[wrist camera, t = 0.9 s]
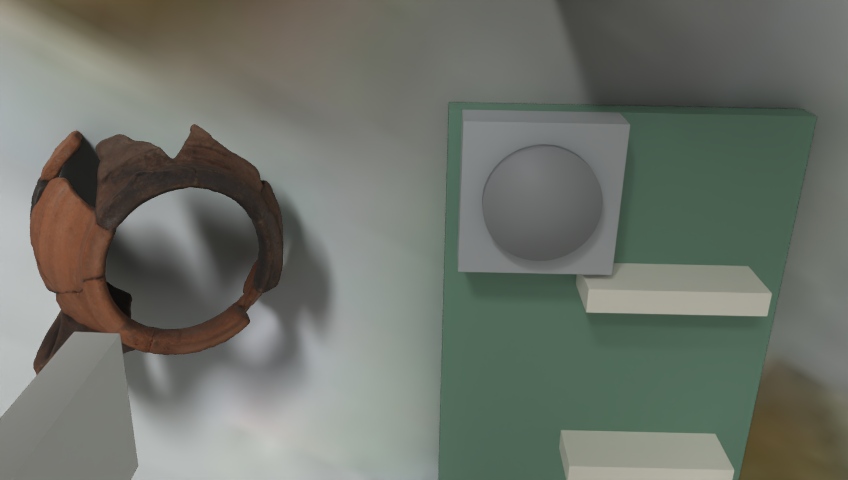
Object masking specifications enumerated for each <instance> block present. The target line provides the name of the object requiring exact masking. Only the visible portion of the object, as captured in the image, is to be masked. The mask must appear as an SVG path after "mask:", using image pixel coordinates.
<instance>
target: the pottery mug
mask: <svg viewBox="0 0 848 480" xmlns="http://www.w3.org/2000/svg"><path fill="white" fill-rule="evenodd" d="M190 131H191V133H190V135H189V137H188V139H187V140H186V141H185V143H184V145H183V147H182V149H181V150H180V152H179V153H178V155H177V156H176V157H175V158H174V159H172V158H170V157H168V155H167V154H166V153H165V152H164V151H163V150H162V149H161V148H160V147H157V146H155V145H153V144H151V143H149V142H144V141H134V140H132V139H130V138H129V137H127V136H125V135H121V134H119V135H115V136H113V137H110V138H108V139H105V140H102V141H101V142H99V143H98V144H97V145H96V151H97V154H98V158H99V160H100V161H101V162H100V164H99V167H98V172H97V181H98V188H97V195H96V203H95V208H94V207H92V206H90V205H89V204H87V203H86V202H85V201H84V200H83V199H81V198H80V196H79V195H78V194H77V193H76V191H75V189H74V187H73V186H72V184H71V183H70V182H69V181H68V180H67V179H66V178H64V177H62V178H61V177H59V175H60V172H61V170H62V167H63V165H64V164H65V163H66V162H67V161H68V159H69V158H70V157H71V156H72V155H73V154H74V153H75V152H76V151H77V150H78V149H79V147H80V145H81V140H82V134H81V133H80V132H78V131H74V132H72V133H71V134H69V136H68V137H67V138H66V139H65V140H64V141H63V142H62V143H60V144H59V146H58V147H57V148H56V149H55V151H54V152H53V154H52V156H51V157H50V159H49V160H48V162H47V163H46V164H45V166H44V168H43V170H42V174H41V177H40V178H39V180H38V182H37V185H36V187H35V190H34V193H33V196H32V202H31V204H32V206H31V213H30V238H31V245H32V246H33V250H34V255H35V258H36V262H37V266H38V270H39V273H40V275H41V277H42V279H43V281H44V284H45V286H46V288H47V289H48V290H49V291H52V292H54V293H56V301H57V302H58V304H59V306H60V308H61V311H60V313H59V314H58V316H57V318H56V320H55V321H54V323H53V324H52V326H51V327H50V329H49V330H48V332H47V334H46V336H45V338H44V340H43V342H42V344H41V346H40V348H39V350H38V352H37V355H36V358H35V360H34V370H35V372H36V374H37V375H38V374H39V372H40V371H41V370H42V369H43V368H44V366H45V365H46V364H47V363H48V362H49V361H50V359H51V358H52V357H53V356H54V355H55V354H56V352H57V351H58V350H59V349H60V348H61V347H62V345H63V344H64V343H65V342H66V341H67V339H68V338H69V337H70V336H71V335H72V334H73V332H95V333H119V334H120V337H121V344H122V351H123V354H124V353H126V352H129V351H132V350H135V349H137V350H139V351H142V352H149V353H153V354H163V355H169V354H174V355H176V354H188V353H194V352H200V351H202V350H205V349H208V348H211V347H214V346H216V345H218V344H220V343H223V342H225V341H227V340H229V339H230V338H232V337H233V336H235V335H236V334H237V333H239V332H240V331H241V330H243V329H244V328H245V327H246V326H247V325H248V324H249V323H250V319H249V317H248V315H247V313H246V311H247V310H248V309H249V307H250V306H251V305H253V304H254V303H255V302H256V300H257V299H258V298H259V297H260V296H261V295H262V293H264V292H267V291H268V290H270V289H272V288H274V287H276V285H277V284H278V282H279V280H280V275H281V271H282V265H283V225H282V217H281V212H280V208H279V205H278V202H277V200H276V197H275V195H274V193H273V190H272V188H271V186H270V184H269V183H268V182H267V181H264V180H262V181H261V179H260V175H259V172H258V170H257V169H256V167H254V166H253V165H252V164H251V163H249V162H248V161H246V160H245V159H243V158H241V157H239V156H238V155H237V154H235V153H233V152H231V151H229V150H228V149H227V148H225V147H224V146H223V145H221V144H220V143H219V142H218V141H216V140H215V139H213V138H212V137H211V135H210V134H209V133H207V132H206V131H205V130H203V129H202V128H200V127H199V126H197V125H195V124H193V125H192V126H191V128H190ZM188 187H194V188H203V189H209V190H211V191H214V192H218V193H222V194H224V195H226V196H228V197H230V198H232V199H233V200H235V201H236V202H237V203H238V204H239V205H240V206H242V207H243V209H244V210H245V211H246V212H247V214H248V215H249V217H250V218H251V219H252V222H253V224H254V226H255V229H256V232H257V236H258V242H259V253H258V260H257V261H256V262H255V263H254V265H253V267H252V269H251V271H250V273H249V275H248V277H247V280H246V282H245V284H244V288H243V293H244V294H243V295H242V297H241V298H240V299H239V300H238V301H237V302H236V303H234V304H233V305H232V306H230V307H229V308H228V309H227V310H225V311H224V312H222V313H221V314H219V315H218V316H216V317H214V318H213V319H211V320H209V321H207V322H204V323H202V324H199V325H196V326H193V327H188V328H183V329H159V328H154V327H147V326H144V325H142V324H140V323H138V322H136V321H134V320H132V319H131V302H132V297H131V295H130V294H129V293H127V292H125V291H122V290H120V289H117V288H116V287H114V286H112V285H111V284H109V283H108V282H106V278H105V267H106V257H107V252H108V249H109V246H110V244H111V241H112V239H113V237H114V235H115V232H116V228H117V227H118V226H119V225H120V224H121V223H122V222H123V221H124V219H125V218H126V217H127V216H128V215H129V214H130V213H131V212H132V211H133V210H135V209H136V208H137V207H138V206H140V205H141V204H143V203H144V202H146V201H148V200H150V199H152V198H154V197H156V196H158V195H161V194H163V193H166V192H169V191H174V190H178V189H184V188H188Z"/></svg>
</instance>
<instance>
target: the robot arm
mask: <svg viewBox="0 0 848 480" xmlns="http://www.w3.org/2000/svg"><path fill="white" fill-rule="evenodd" d="M137 467H138V461H137V454H136V446H135V439H134V432H133V424H132V417H131V410H130V403H129V395H128V388H127V381H126V373H125V366H124V359H123V351H122V344H121V337H120V334H119V333H95V332H73V334H72V335H71V336H70V337H69V338H68V339H67V341H66V342H65V343H64V344H63V345H62V347H61V348H60V349H59V350H58V351H57V352H56V354H55V355H54V356H53V357H52V358H51V359H50V361H49V362H48V363H47V364H46V365H45V366H44V368H43V369H42V370H41V371H40V372H39V374H38V375H37V376H36V377H35V378H34V379H33V381H32V382H31V383H30V384H29V385H28V386H27V388H26V389H25V390H24V391H23V392H22V393H21V395H20V396H19V397H18V398H17V399H16V401H15V402H14V403H13V404H12V405H11V406H10V408H9V409H8V410H7V411H6V412H5V413H4V415H3V416H2V417H1V418H0V480H131V478H132V476H133V475H134V473H135V471H136V469H137Z"/></svg>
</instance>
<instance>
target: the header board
mask: <svg viewBox="0 0 848 480" xmlns="http://www.w3.org/2000/svg"><path fill="white" fill-rule="evenodd" d="M816 120H817V116H816V115H814V114H812V113H810V112H808V111H806V110H804V109H775V108H723V107H671V106H619V105H566V104H514V103H462V102H449V113H448V149H447V185H446V221H445V257H444V293H443V329H442V365H441V401H440V437H439V480H739V475H740V471H741V466H742V461H743V457H744V452H745V448H746V443H747V438H748V434H749V429H750V424H751V420H752V415H753V411H754V406H755V401H756V397H757V392H758V388H759V383H760V378H761V374H762V369H763V364H764V360H765V355H766V351H767V346H768V341H769V337H770V332H771V328H772V323H773V318H774V314H775V309H776V304H777V300H778V295H779V291H780V286H781V281H782V277H783V272H784V268H785V263H786V258H787V254H788V249H789V244H790V240H791V235H792V231H793V226H794V221H795V217H796V212H797V208H798V203H799V198H800V194H801V189H802V184H803V180H804V175H805V171H806V166H807V161H808V157H809V152H810V148H811V143H812V138H813V134H814V129H815V124H816Z"/></svg>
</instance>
